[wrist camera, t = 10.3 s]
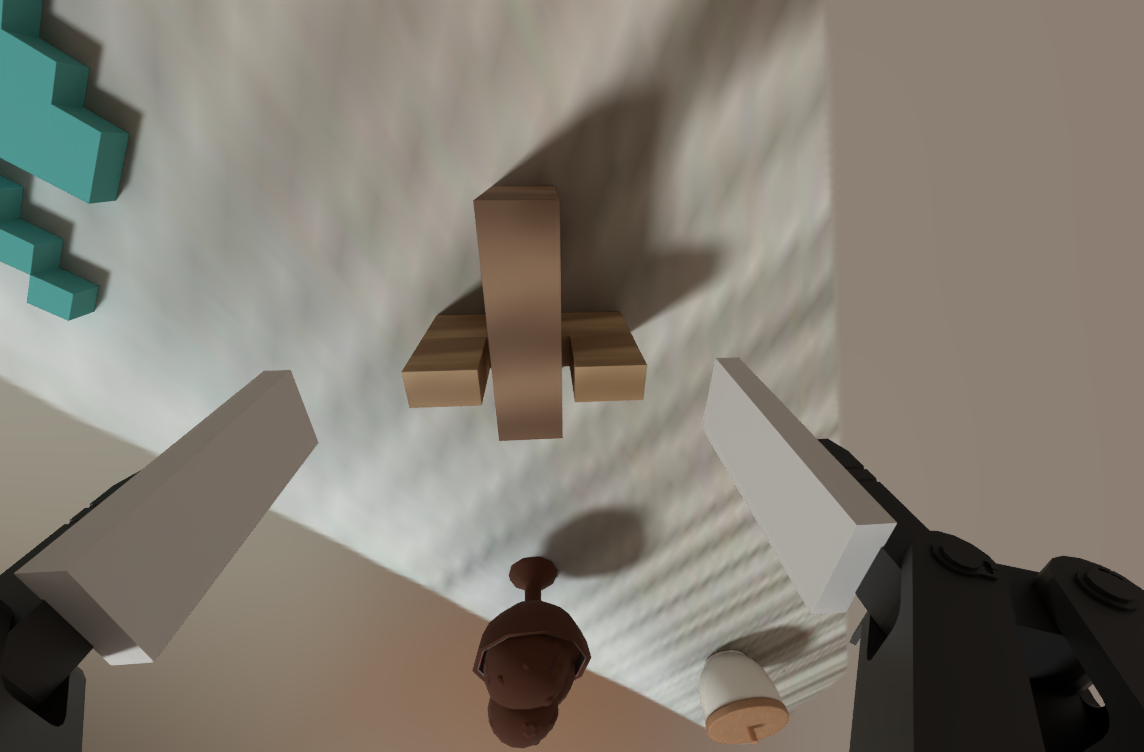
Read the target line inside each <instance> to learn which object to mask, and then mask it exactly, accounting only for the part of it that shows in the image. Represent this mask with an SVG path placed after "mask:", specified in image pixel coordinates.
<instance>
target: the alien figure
mask: <svg viewBox="0 0 1144 752" xmlns="http://www.w3.org/2000/svg"><path fill="white" fill-rule="evenodd" d="M42 5H43V0H0V158H1V159H3V160H5V161H7V162H9V163H11V164H13V165H15V166H17V167H19V168H21V169H23V170H25V171H27V172H29V173H31V174H32V175H34V176H36V177H38V178H40V179H42V180H44V181H46V182H48V183H50V184H52V185H54V186H56V187H58V188H60V189H62V190H64V191H65V192H67V193H69V194H71V195H73V196H75V197H77V198H79V199H81V200H83V201H85V202H87V203H89V204H90V203H98V202H107V201H116V198H117V193H118V188H119V183H120V178H121V173H122V168H123V163H124V158H125V153H126V148H127V143H128V138H129V133H127V132H125V131H124V130H122V129H120V128H119V127H117V126H115V125H113V124H112V123H110V122H108V121H106V120H105V119H103V118H101V117H100V116H98V115H96V114H94V113H93V112H91V111H89V110H87V109H86V108H84V101H85V95H86V88H87V81H88V75H89V68H88V67H87V66H85V65H83V64H82V63H80V62H78V61H77V60H75V59H73V58H72V57H70V56H69V55H67V54H65V53H64V52H62V51H60V50H59V49H57V48H55V47H54V46H52V45H50V44H49V43H47V42H45V41H44V40H42V39H41V38H39V34H40V24H41V14H42ZM22 197H23V187H22V186H20V185H18V184H16V183H14V182H12V181H10V180H8V179H6V178H4V177H2V176H0V261H1V262H3V263H5V264H7V265H10V266H12V267H14V268H16V269H19V270H21V271H23V272H25V273H27V274H30V281H29V289H28V298H27V303H29V304H31V305H33V306H36V307H38V308H40V309H43V310H45V311H47V312H50V313H52V314H54V315H57V316H59V317H61V318H64V319H66V320H68V321H69V320H72V319H75V318H77V317H80V316H83V315H86V314H89V313H91V312H94V309H95V304H96V299H97V294H98V289H99V286H98V285H95V284H93V283H91V282H89V281H87V280H85V279H82V278H80V277H78V276H76V275H74V274H72V273H69V272H67V271H65V270H63V269H61V268H59V266H60V259H61V253H62V246H63V239H61V238H59V237H57V236H55V235H53V234H51V233H49V232H47V231H45V230H43V229H41V228H38V227H36V226H34V225H32V224H30V223H28V222H26V221H24V220H22V219H20V216H21V206H22Z"/></svg>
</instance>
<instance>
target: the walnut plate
mask: <svg viewBox="0 0 1144 752" xmlns="http://www.w3.org/2000/svg"><path fill="white" fill-rule="evenodd" d="M473 201H474V211H475V220H476V229H477V238H478V248H479V257H480V266H481V276H482V285H483V294H484V303H485V313H486V322H487V331H488V341H489V350H490V359H491V368H492V378H493V387H494V396H495V406H496V415H497V424H498V433H499V441H507V440H530V439H553V438H563V436H562V352H561V267H560V199H559V197H558V195H557V193H556V190H555V188H554V186H492V187H490V188H489V189H488V190H486V191H485V192H484V193H483V194H481V195H480V196H479V197H477V198H476V199H475V200H473Z"/></svg>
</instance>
